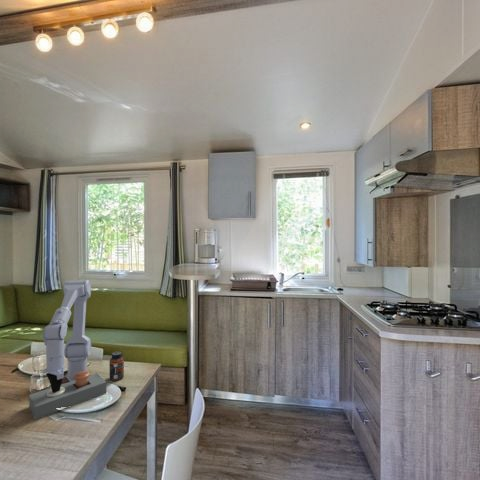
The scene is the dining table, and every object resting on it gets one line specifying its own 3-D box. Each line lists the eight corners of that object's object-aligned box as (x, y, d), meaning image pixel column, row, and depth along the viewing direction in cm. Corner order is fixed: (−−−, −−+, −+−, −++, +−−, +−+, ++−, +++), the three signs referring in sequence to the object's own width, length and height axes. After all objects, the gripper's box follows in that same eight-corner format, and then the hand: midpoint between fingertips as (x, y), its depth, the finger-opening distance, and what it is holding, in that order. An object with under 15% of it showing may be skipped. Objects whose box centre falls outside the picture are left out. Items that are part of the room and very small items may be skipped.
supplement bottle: (118, 382, 126) (118, 356, 126) (106, 380, 128) (106, 355, 127) (126, 375, 132) (126, 351, 132) (115, 374, 133) (114, 350, 133)
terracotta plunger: (71, 385, 116) (71, 374, 116) (87, 379, 120) (87, 369, 120) (75, 390, 112) (75, 379, 112) (92, 385, 116) (92, 374, 116)
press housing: (35, 419, 101) (35, 407, 101) (29, 406, 108) (29, 394, 108) (106, 393, 118) (106, 382, 118) (96, 383, 125) (96, 373, 125)
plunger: (45, 402, 110) (44, 391, 110) (62, 396, 114) (62, 385, 114) (48, 409, 106) (48, 397, 106) (67, 402, 110) (67, 391, 110)
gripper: (38, 353, 112) (39, 388, 112) (47, 365, 102) (48, 403, 102) (59, 348, 117) (60, 381, 117) (69, 358, 107) (70, 395, 107)
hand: (55, 391), depth 110 cm, fingers closed, pressing on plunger
